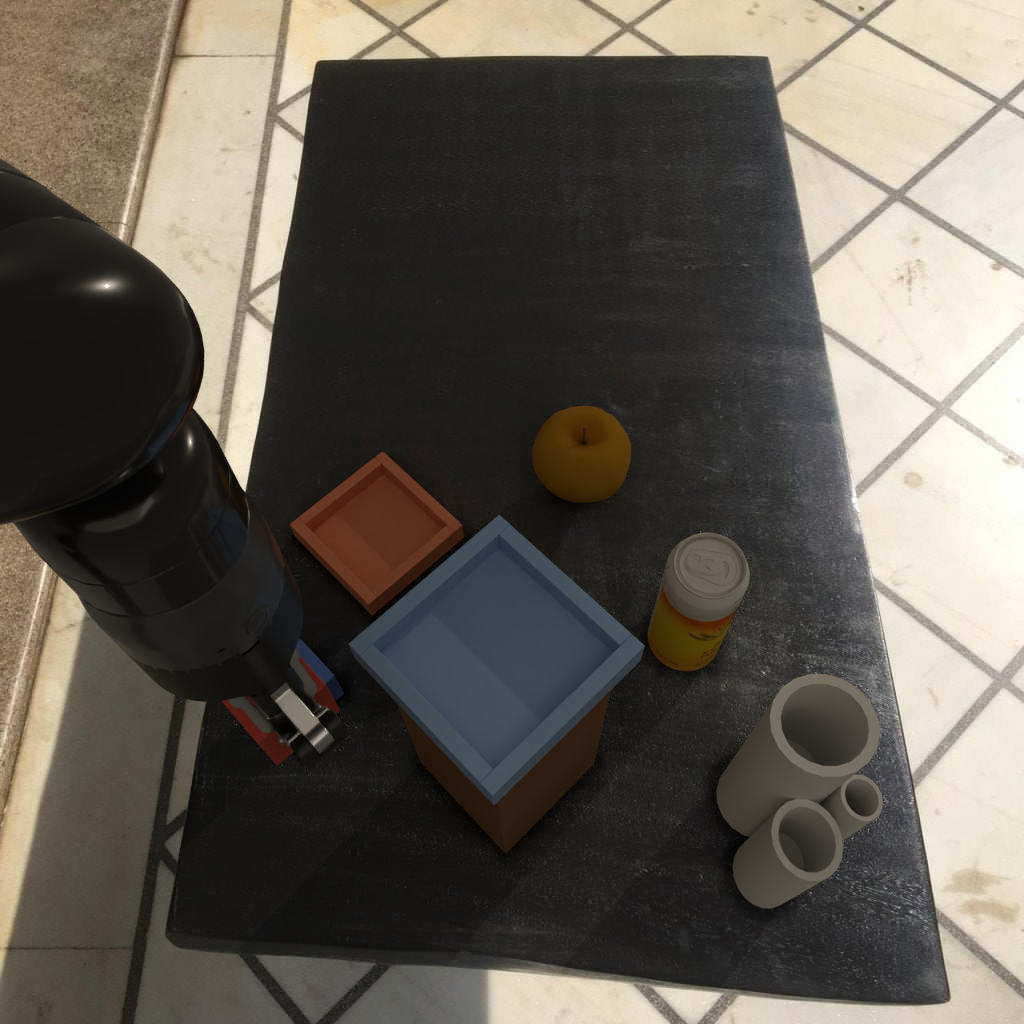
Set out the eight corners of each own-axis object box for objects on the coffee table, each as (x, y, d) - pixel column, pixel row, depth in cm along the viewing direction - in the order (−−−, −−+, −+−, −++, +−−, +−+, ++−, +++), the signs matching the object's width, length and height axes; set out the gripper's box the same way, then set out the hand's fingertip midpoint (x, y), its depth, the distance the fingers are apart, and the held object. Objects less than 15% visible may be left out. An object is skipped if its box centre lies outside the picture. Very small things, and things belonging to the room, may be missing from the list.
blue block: (302, 730, 80) (290, 714, 76) (269, 693, 82) (255, 675, 78) (344, 693, 81) (334, 675, 77) (311, 657, 83) (299, 638, 79)
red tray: (372, 615, 85) (368, 605, 83) (294, 536, 89) (289, 524, 87) (464, 537, 88) (462, 524, 86) (386, 464, 92) (382, 450, 90)
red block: (277, 766, 54) (257, 743, 50) (229, 709, 55) (206, 683, 51) (340, 710, 55) (326, 684, 51) (291, 657, 57) (274, 627, 53)
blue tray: (505, 873, 74) (492, 796, 51) (402, 761, 79) (347, 643, 55) (612, 763, 78) (645, 645, 55) (508, 662, 82) (499, 514, 59)
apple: (635, 520, 89) (645, 469, 81) (538, 531, 88) (539, 481, 81) (618, 438, 93) (626, 382, 85) (526, 448, 93) (525, 393, 85)
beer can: (708, 683, 81) (742, 614, 68) (638, 661, 82) (658, 589, 69) (724, 619, 84) (760, 540, 71) (656, 599, 85) (679, 518, 72)
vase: (706, 763, 78) (756, 681, 60) (794, 750, 78) (868, 665, 61) (742, 913, 73) (808, 870, 55) (835, 898, 73) (930, 851, 55)
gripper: (22, 529, 41) (156, 667, 56) (219, 769, 36) (309, 851, 51) (169, 426, 44) (260, 585, 59) (373, 637, 39) (416, 752, 54)
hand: (283, 708), depth 55 cm, fingers closed on red block, 4 cm apart
